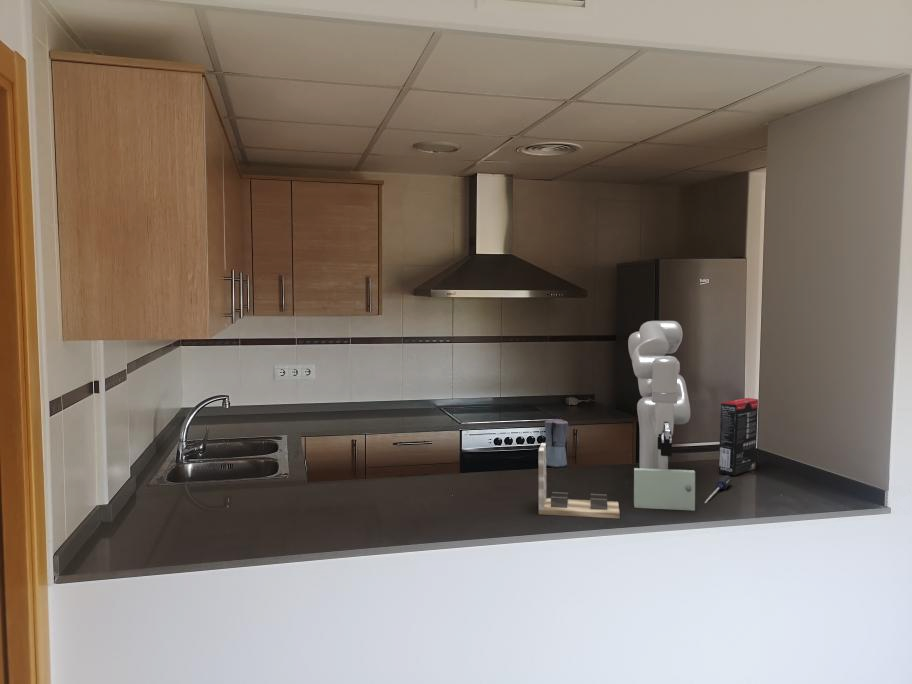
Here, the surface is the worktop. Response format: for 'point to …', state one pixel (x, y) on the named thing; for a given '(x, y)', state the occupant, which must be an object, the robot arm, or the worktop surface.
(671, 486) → the door
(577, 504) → the hinge base
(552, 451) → the moka pot
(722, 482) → the screwdriver
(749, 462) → the graphics card box
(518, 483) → the worktop surface
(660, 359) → the robot arm
